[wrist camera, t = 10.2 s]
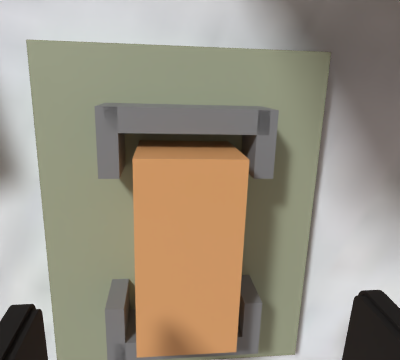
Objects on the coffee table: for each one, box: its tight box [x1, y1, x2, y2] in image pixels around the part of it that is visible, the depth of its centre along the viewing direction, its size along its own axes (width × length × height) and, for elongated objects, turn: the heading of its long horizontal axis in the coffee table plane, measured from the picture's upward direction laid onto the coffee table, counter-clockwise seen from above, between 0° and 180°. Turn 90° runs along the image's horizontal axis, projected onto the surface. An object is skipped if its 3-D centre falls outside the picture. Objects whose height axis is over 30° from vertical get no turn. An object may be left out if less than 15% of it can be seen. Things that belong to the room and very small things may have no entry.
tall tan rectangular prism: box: [132, 140, 249, 358], centre depth 19 cm, size 10×5×5 cm, turn 178°
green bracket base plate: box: [26, 40, 331, 360], centre depth 20 cm, size 20×16×4 cm
